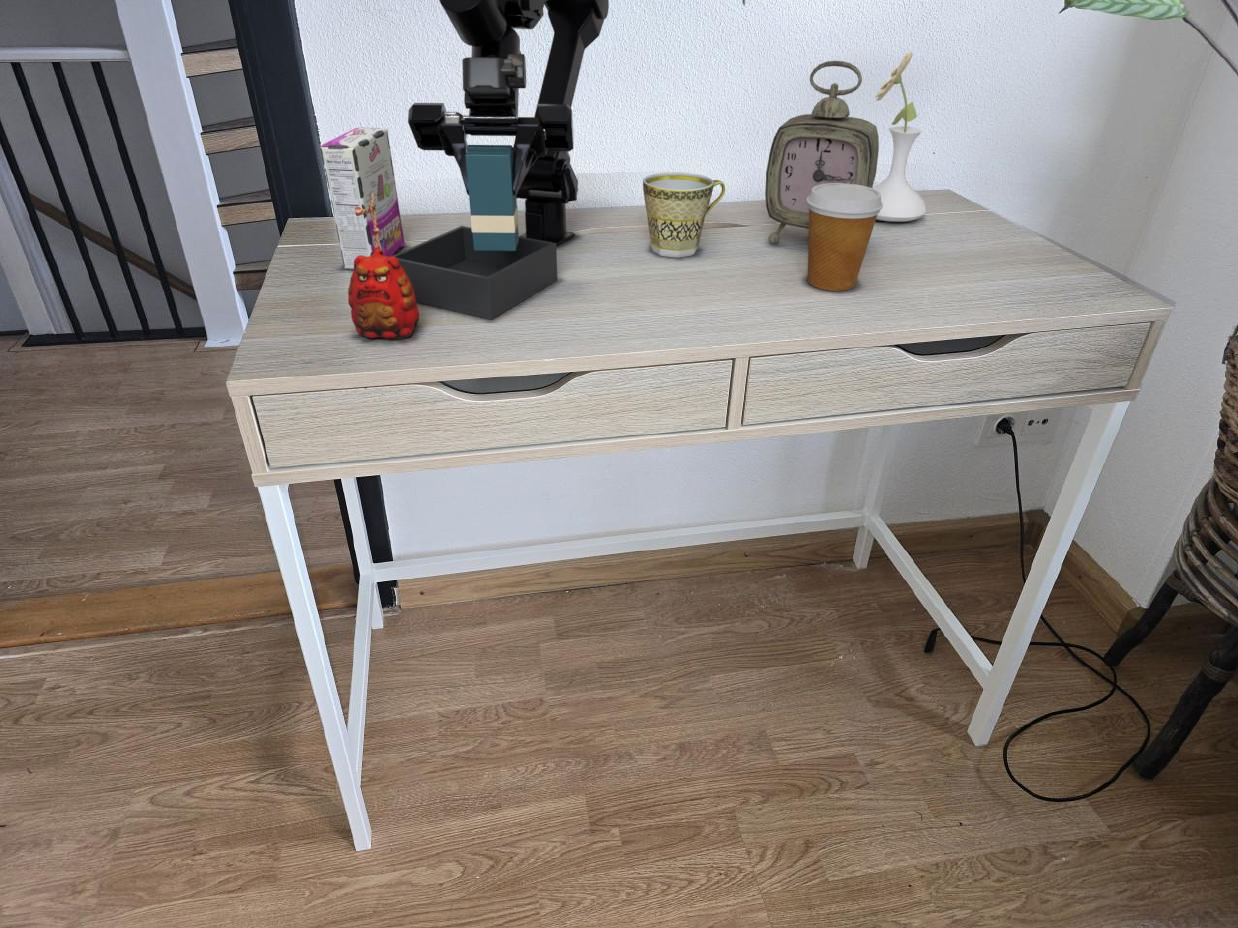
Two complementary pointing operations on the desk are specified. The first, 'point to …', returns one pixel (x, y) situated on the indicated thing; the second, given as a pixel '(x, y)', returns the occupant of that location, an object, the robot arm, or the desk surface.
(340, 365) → the desk surface
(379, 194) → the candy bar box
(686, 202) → the ceramic cup
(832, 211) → the disposable coffee cup
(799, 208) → the tabletop clock
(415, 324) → the red clay folk toy
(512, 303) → the dark grey open box
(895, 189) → the flower in vase
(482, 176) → the teal gift box
